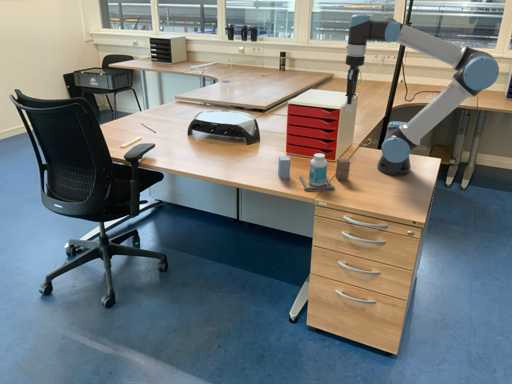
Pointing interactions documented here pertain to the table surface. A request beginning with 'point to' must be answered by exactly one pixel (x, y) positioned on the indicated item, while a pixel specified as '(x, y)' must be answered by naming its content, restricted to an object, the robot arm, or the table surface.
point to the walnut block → (342, 169)
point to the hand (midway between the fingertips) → (348, 110)
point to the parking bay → (317, 187)
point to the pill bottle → (318, 170)
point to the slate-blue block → (284, 167)
